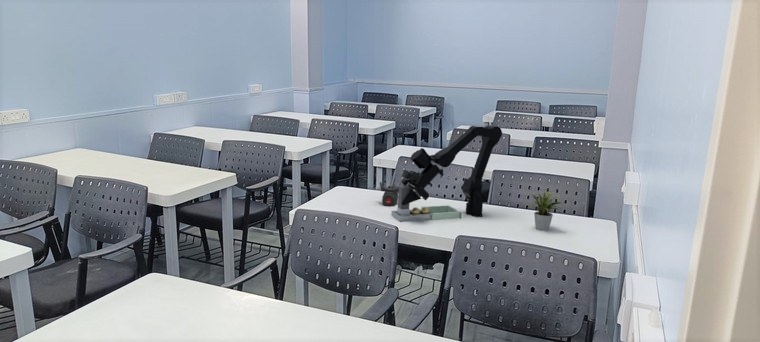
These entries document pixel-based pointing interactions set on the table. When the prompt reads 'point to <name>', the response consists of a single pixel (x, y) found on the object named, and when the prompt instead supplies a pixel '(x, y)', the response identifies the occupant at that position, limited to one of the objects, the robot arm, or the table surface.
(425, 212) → the gold ball
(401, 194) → the tall gray pillar
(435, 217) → the tray
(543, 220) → the house plant
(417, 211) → the brass sphere
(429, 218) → the slot rail
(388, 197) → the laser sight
